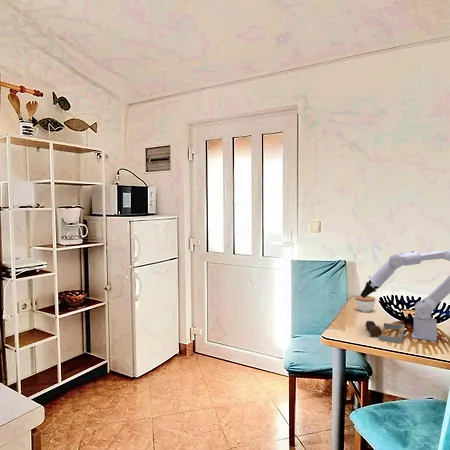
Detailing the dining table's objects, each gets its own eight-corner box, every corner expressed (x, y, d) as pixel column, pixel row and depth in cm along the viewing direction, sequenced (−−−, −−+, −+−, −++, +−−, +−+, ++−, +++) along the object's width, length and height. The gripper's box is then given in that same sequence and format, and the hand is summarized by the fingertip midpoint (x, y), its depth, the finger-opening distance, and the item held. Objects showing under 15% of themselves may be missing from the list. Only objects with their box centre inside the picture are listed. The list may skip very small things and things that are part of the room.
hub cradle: (404, 329, 175) (404, 323, 175) (401, 343, 156) (401, 337, 156) (383, 326, 179) (384, 321, 179) (378, 340, 161) (378, 333, 161)
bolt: (370, 331, 179) (377, 340, 164) (361, 325, 180) (367, 334, 165) (376, 321, 178) (384, 329, 164) (367, 315, 179) (374, 323, 165)
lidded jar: (351, 309, 212) (351, 293, 212) (364, 307, 217) (364, 292, 216) (365, 314, 202) (365, 297, 202) (379, 311, 207) (379, 295, 207)
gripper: (377, 267, 179) (358, 287, 183) (373, 270, 166) (354, 291, 170) (389, 277, 176) (370, 297, 180) (386, 281, 163) (366, 302, 167)
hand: (363, 295), depth 175 cm, fingers open, 7 cm apart
